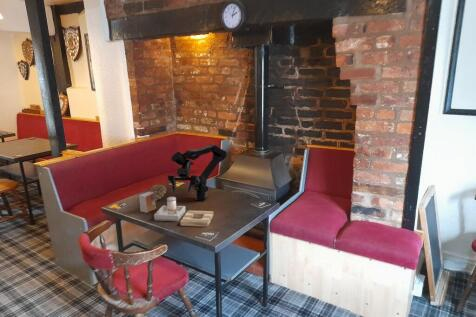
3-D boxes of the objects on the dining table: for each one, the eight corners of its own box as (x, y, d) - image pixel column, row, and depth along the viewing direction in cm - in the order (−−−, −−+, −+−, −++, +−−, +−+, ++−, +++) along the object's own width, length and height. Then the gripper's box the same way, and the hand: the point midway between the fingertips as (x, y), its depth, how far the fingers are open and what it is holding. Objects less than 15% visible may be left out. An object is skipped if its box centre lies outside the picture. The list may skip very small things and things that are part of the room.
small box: (146, 213, 204) (145, 196, 201) (140, 211, 206) (138, 195, 204) (156, 208, 210) (155, 192, 208) (149, 207, 213) (148, 191, 211)
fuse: (169, 213, 200) (168, 196, 197) (178, 213, 199) (176, 196, 196) (166, 217, 195) (165, 199, 192) (175, 217, 194) (174, 200, 192)
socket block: (188, 214, 200) (188, 210, 200) (213, 215, 198) (213, 211, 197) (180, 225, 186) (180, 221, 185) (207, 226, 184) (207, 222, 183)
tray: (163, 210, 206) (162, 205, 206) (185, 211, 205) (185, 206, 204) (154, 220, 193) (154, 214, 192) (178, 221, 191) (178, 215, 190)
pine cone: (159, 195, 234) (157, 181, 231) (170, 197, 229) (169, 183, 227) (135, 206, 215) (134, 191, 213) (146, 208, 211) (145, 193, 208)
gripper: (166, 162, 204) (161, 185, 196) (196, 162, 200) (192, 186, 193) (172, 170, 213) (167, 193, 205) (201, 171, 210) (197, 194, 202)
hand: (181, 191), depth 201 cm, fingers open, 9 cm apart
